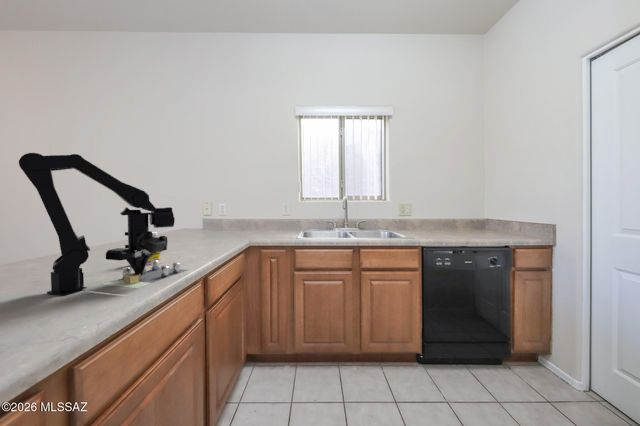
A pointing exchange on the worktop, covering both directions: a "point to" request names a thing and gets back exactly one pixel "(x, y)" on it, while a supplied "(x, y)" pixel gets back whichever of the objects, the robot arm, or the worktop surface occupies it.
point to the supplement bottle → (156, 255)
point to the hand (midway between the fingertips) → (139, 276)
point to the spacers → (155, 269)
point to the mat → (143, 279)
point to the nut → (132, 278)
